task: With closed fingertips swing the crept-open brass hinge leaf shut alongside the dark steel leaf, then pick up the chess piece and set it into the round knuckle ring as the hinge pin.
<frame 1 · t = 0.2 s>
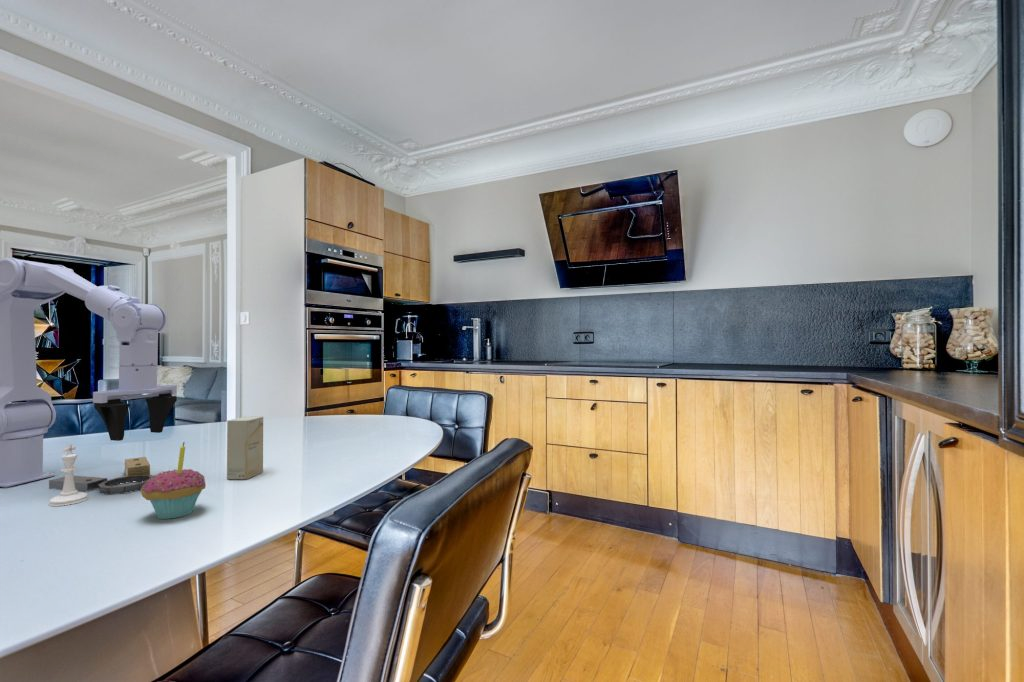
hand: (137, 436, 87), 10 cm above the table, tool pointing down, fingers open, 7 cm apart
brass leaf: (137, 467, 96), point 2 cm above the table, hinge at -36.0°
skincare box: (245, 476, 96), on the table
steel leaf: (127, 487, 88), on the table
cupcake: (174, 515, 74), on the table
chess piece: (68, 502, 80), on the table
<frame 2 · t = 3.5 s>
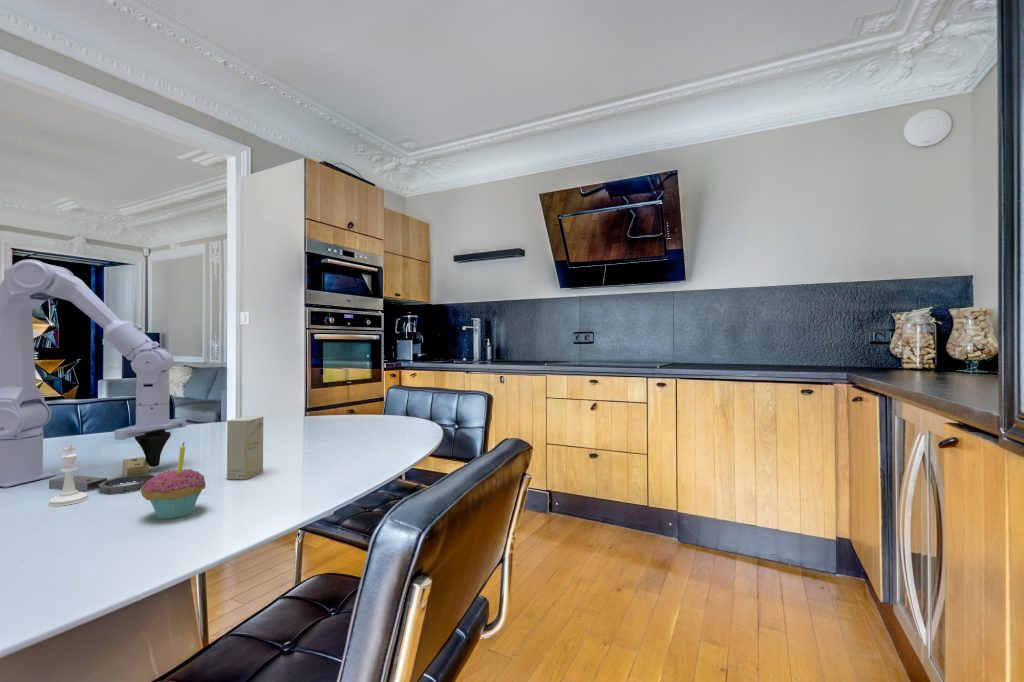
hand: (152, 466, 99), 1 cm above the table, tool pointing down, fingers closed, pressing on brass leaf
brass leaf: (135, 467, 95), point 2 cm above the table, hinge at -34.7°, touching gripper
everything else where it was.
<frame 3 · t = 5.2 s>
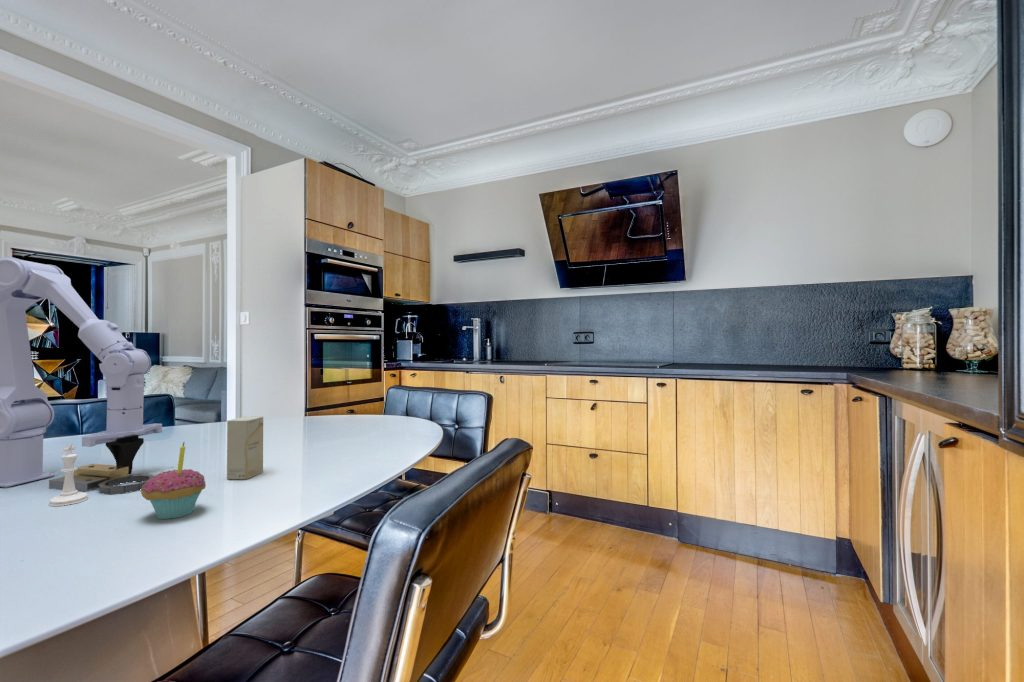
hand: (124, 474, 93), 1 cm above the table, tool pointing down, fingers closed, pressing on brass leaf
brass leaf: (101, 473, 91), point 2 cm above the table, hinge at -0.6°, touching gripper
everything else where it was.
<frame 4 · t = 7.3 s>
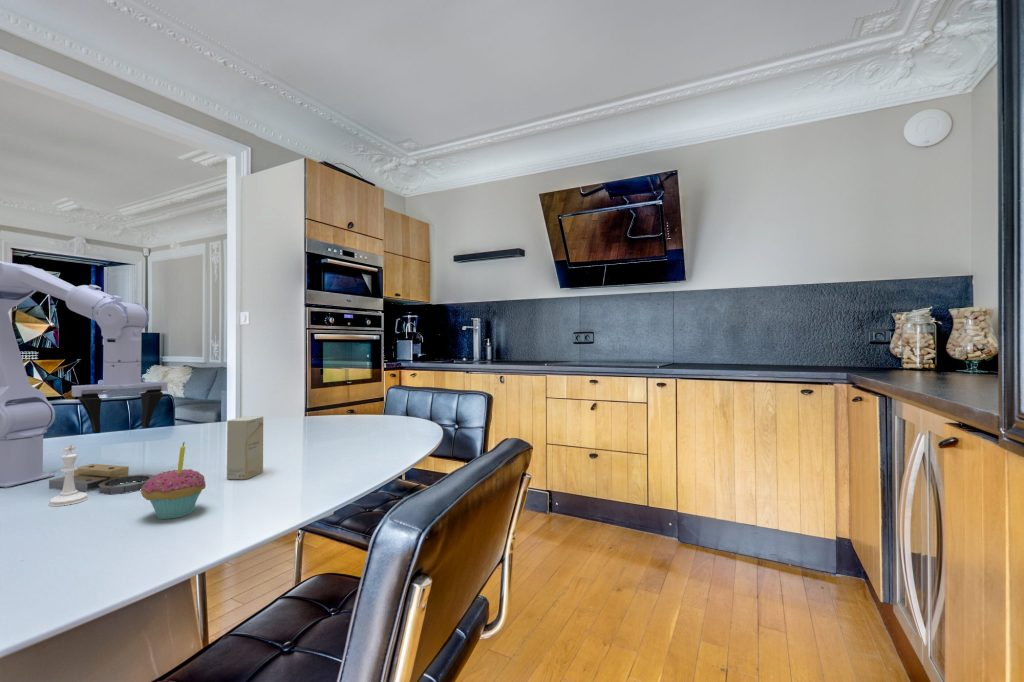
hand: (121, 429, 91), 10 cm above the table, tool pointing down, fingers open, 7 cm apart
brass leaf: (101, 473, 91), point 2 cm above the table, hinge at -0.6°
everything else where it was.
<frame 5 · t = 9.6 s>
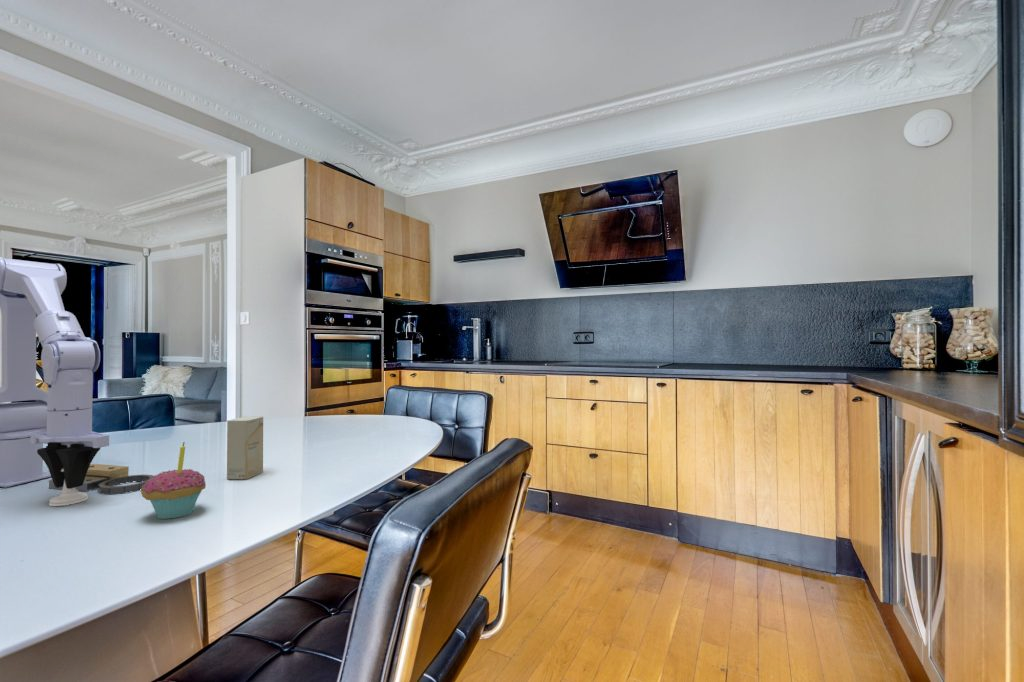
hand: (68, 486, 80), 3 cm above the table, tool pointing down, fingers closed on chess piece
chess piece: (68, 502, 80), on the table, touching gripper
everything else where it was.
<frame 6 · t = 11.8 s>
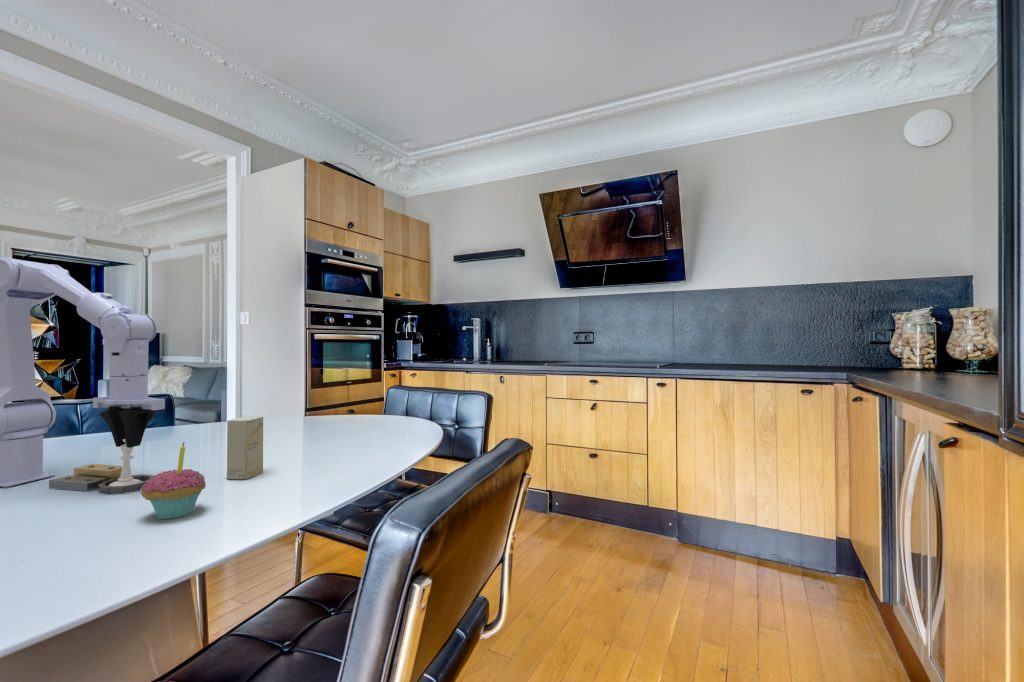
hand: (128, 446, 88), 8 cm above the table, tool pointing down, fingers closed on chess piece, 2 cm apart
chess piece: (125, 488, 87), resting in steel leaf, touching gripper
everything else where it was.
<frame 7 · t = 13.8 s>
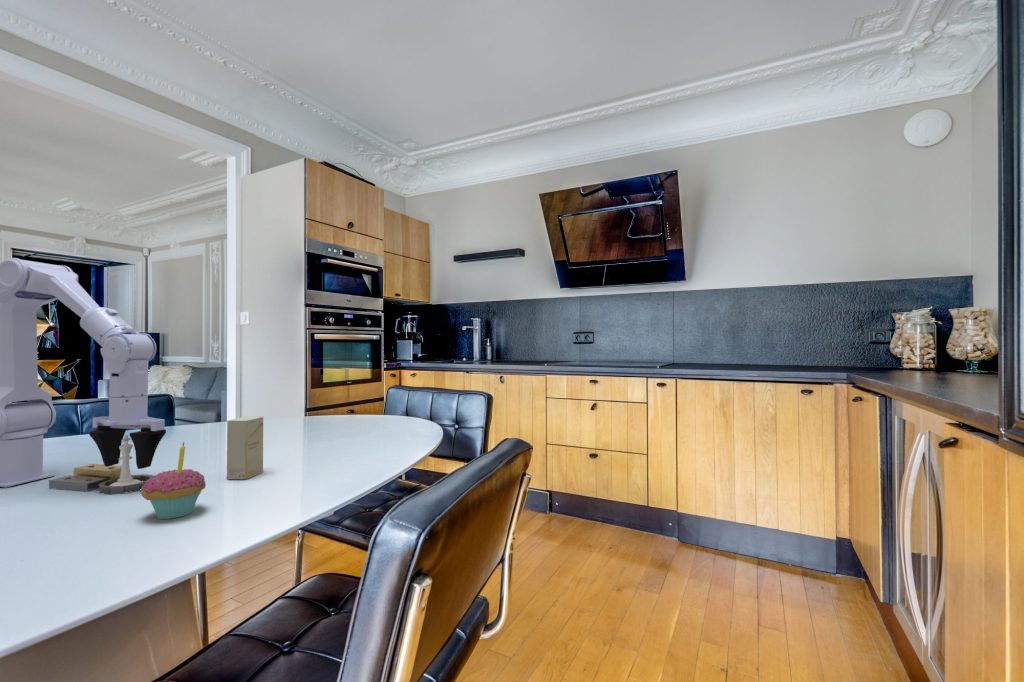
hand: (127, 466, 88), 4 cm above the table, tool pointing down, fingers open, 7 cm apart
chess piece: (125, 488, 87), resting in steel leaf
everything else where it was.
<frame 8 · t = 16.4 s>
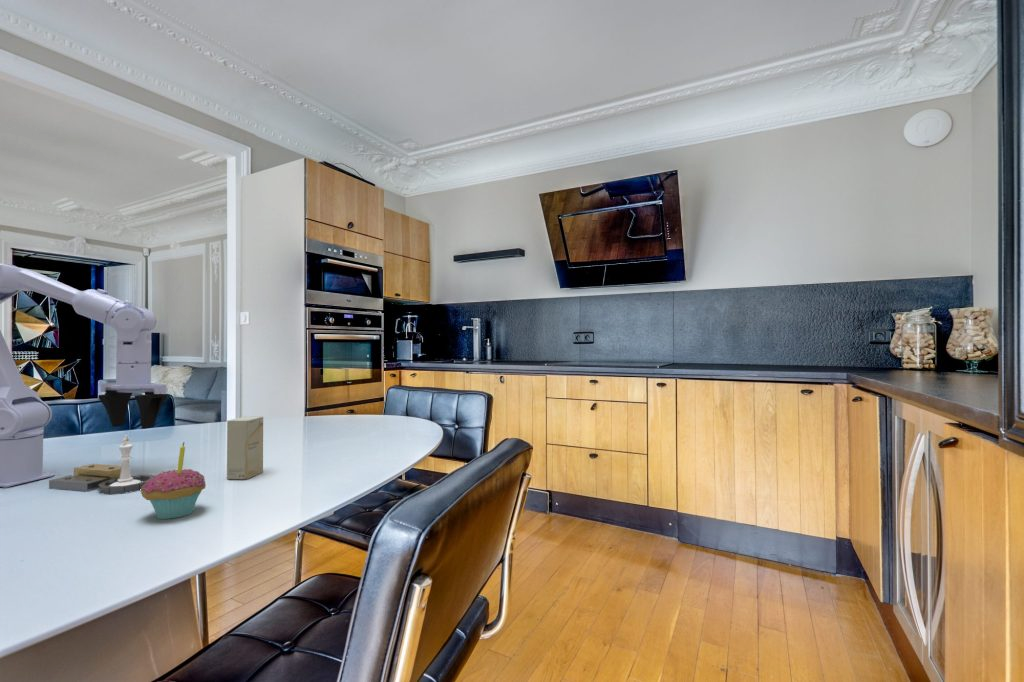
hand: (133, 426, 96), 10 cm above the table, tool pointing down, fingers open, 7 cm apart
nothing on the table moved.
at the end: brass leaf at -1° (first picture: -36°); chess piece 0.3 cm from the steel leaf (horizontally); chess piece tilted 0° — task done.
